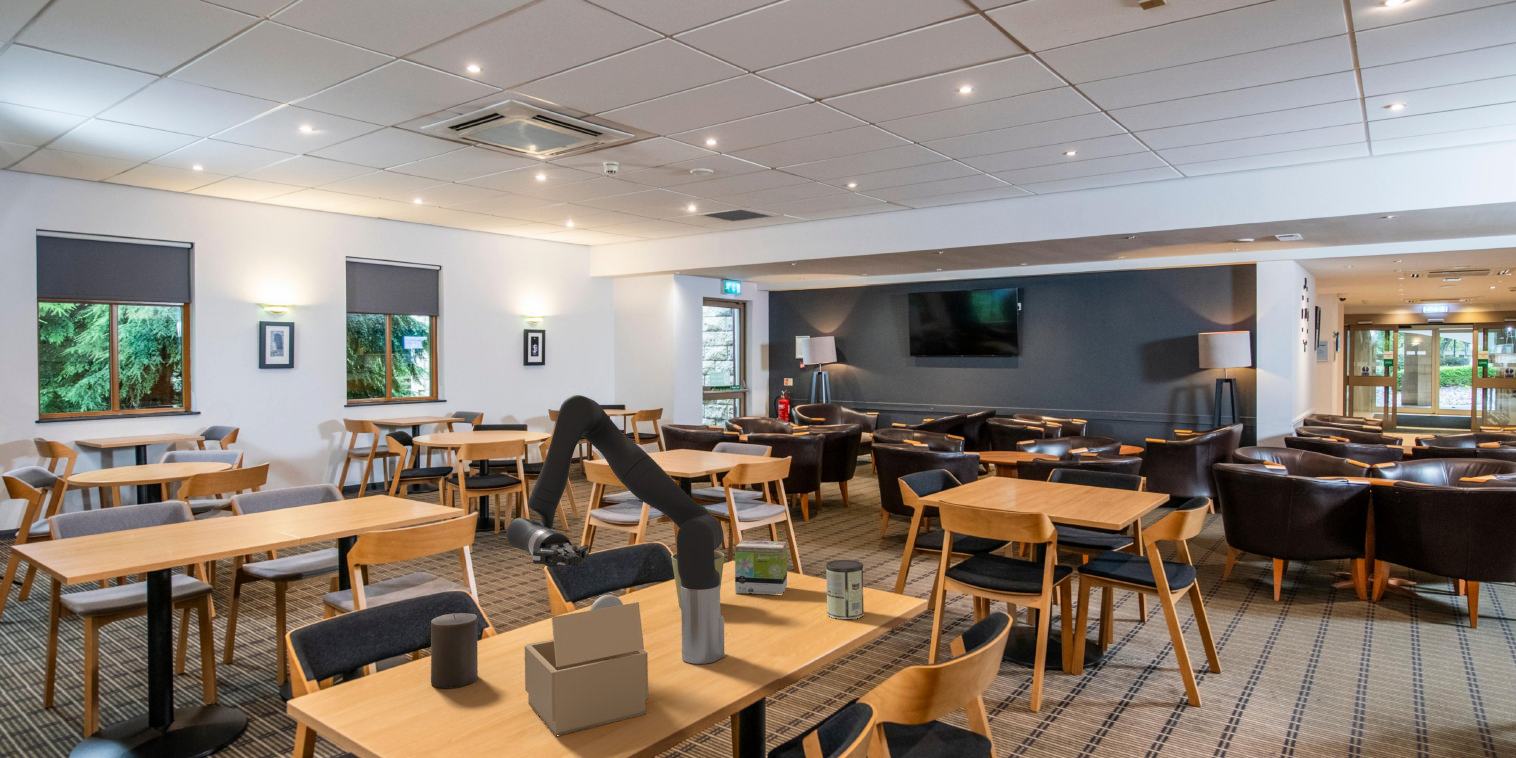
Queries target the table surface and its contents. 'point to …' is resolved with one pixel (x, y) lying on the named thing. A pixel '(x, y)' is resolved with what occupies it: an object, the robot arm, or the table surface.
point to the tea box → (760, 567)
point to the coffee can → (844, 589)
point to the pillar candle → (454, 650)
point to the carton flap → (597, 634)
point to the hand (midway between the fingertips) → (574, 561)
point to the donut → (606, 602)
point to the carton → (585, 688)
